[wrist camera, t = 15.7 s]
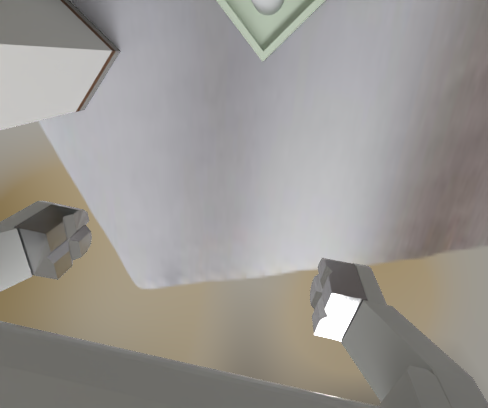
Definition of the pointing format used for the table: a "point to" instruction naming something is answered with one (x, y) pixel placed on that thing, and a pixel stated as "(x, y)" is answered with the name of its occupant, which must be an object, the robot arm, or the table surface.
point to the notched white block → (48, 60)
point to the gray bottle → (267, 6)
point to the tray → (268, 22)
